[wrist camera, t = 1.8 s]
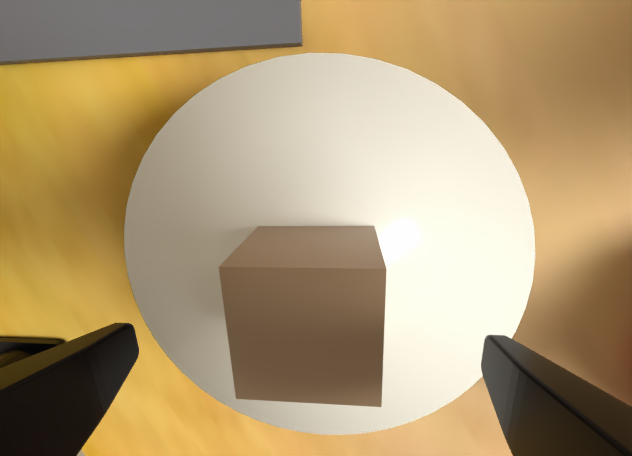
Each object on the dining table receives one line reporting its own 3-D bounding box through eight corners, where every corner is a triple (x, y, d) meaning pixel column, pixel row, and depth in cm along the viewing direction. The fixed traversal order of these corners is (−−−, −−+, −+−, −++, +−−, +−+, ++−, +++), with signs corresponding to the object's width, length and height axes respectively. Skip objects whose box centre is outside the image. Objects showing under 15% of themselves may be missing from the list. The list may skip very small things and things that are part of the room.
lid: (174, 402, 15) (103, 513, 11) (109, 73, 11) (-54, 33, 7) (489, 420, 14) (557, 558, 9) (550, 48, 10) (728, -26, 5)
